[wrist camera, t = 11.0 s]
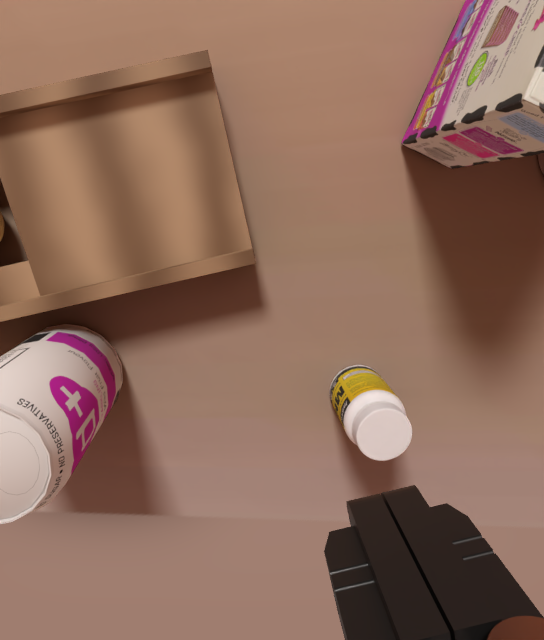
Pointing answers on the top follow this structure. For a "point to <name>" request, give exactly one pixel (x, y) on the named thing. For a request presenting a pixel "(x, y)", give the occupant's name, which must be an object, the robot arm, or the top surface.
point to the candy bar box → (485, 88)
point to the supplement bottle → (370, 413)
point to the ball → (1, 226)
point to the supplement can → (51, 411)
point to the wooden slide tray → (118, 185)
